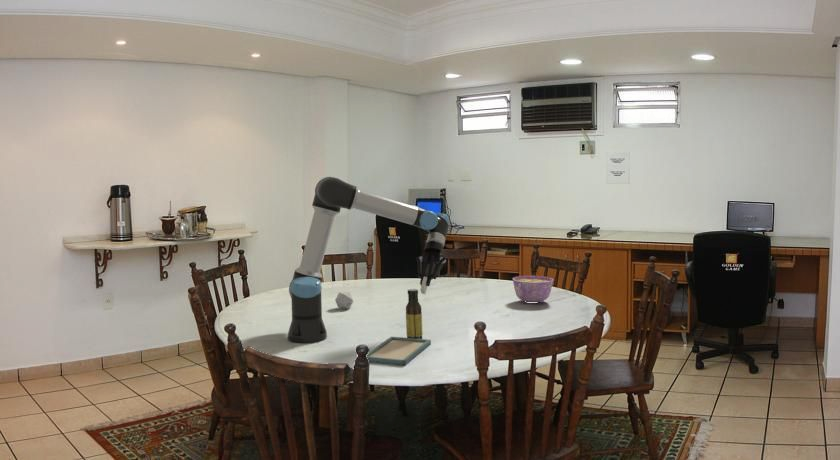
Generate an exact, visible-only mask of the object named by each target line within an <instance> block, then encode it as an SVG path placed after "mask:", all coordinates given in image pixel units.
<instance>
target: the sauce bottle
mask: <svg viewBox="0 0 840 460" xmlns="http://www.w3.org/2000/svg"><path fill="white" fill-rule="evenodd" d="M418 294H419V289H417V288H411V289H407V297H408V299H407V301H408V302H407V304H406V306H405V323H406V324H405V326H406V329H405V330H406V338H415V339H423V335H424V334H423V314H422V305H421V304H420V302H419V295H418Z"/></svg>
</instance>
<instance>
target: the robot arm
mask: <svg viewBox="0 0 840 460" xmlns="http://www.w3.org/2000/svg"><path fill="white" fill-rule="evenodd" d="M311 206H312V208H313V211H314V213H313V215H312V219H311V223H310V227H309V230H308V235H307V238H306V242H305V246H304V249H303V253H302V257H301V261H300V264H299V267H297V268H295V269H294V272H293V277H292V280H291V281H290V283H289V287H288V292H289V296H290V299H291V322H290V326H289V328H288V332H287V340H288V341H290V342H292V343H300V344H303V343H305V344H306V343H307V344H308V343H317V342H320V341H324V340H326V339H327V337H328V336H327V335H328V334H327V333H328V332H327V329H326V327H325V322H324V320H323V315H322V314H323V311H322V309H323V308H322V305H323V304H322V302H323V301H322V279H323V274H322V273H321V270H322V265H323V262H324V258H325V254H326V250H327V247H328V243H329V240H330V239H329V238H330V236H331V232H332V229H333V228H332V227H333V224H334V221H335V218H336V216H338V214H340V212H341V209H346V210H352V209H355V210H359V211H363V212H366V213H370V214H373V215H376V216H380V217H383V218H387V219H390V220H394V221H398V222H400V223H404V224H407V225H410V226H413V227H416V228H420V229H423V230H424V231H426V232H428V235H427V239H426V241H425V242H426V243H425V246H424V250H423V253H422V254H421V255H420V256H419V255H418V256H416V257H415V259H416V261H417V265H416V266H417V277H418V279H420V282H419V284H420V289H419V290H420V293H421V294H422V295H426V293H427V289H428V287H430V286H431V283H432V281H433V280H436V279H437V277H438V276H439V274H440V272H441V270H442V269H443V267H444V265H446V263H447V260H446V258H445V257H443V256H442V254H443V251H444V247H445V243H446V239H447V235H448V230H449V227H450V218H449V216H448V215H447V214H445V213H441V212H438V213H437V212H436V213H435V212H434V211H431V210H427V209H424V208H421V207H419V206H417V205H415V204H411V205H410V204H407V203H404V202H402V201H397V200H396V199H395V200H393V199H392V198H391V199H390V198H388V197H384V196H381V195H377V194H373V193H371V192H367V191H364V190H361V189H359V187H358V186H357V185H353V184H351V183H348V182H346V181H344V180H342V179H340V178H337V177H335V176H326V177H322V178H321V179H320V180H319V181H318V182H317V184H316V185H315V188H314V196H313V201H312V204H311ZM422 262H424V264H422ZM422 265H423V266H422Z"/></svg>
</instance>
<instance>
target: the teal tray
mask: <svg viewBox="0 0 840 460" xmlns="http://www.w3.org/2000/svg"><path fill="white" fill-rule="evenodd" d="M431 341H432V340H431V339H425V338H422V339H415V338H407V337H403V336H402V337H400V336H389V338H387V339H386V340H384V341H383V342H381V343H379V344H378V345H376V346H375V347H374V348H372V349H370V350H369V351H368V352H369V354H368V355H367V358H368V360H369V362H368V363H372V364H379V365H380V364H381V365H391V366H392V365H393V366H401V367H402V366H403V367H405V366H407V365H408V364H409V363H410V362H412V361H413V360H414V359H415V358H416V357H418V356H419V355H420V354H421V353H422V352H424V351H425V350H426V349H427V348H428V347H429V346H430V345H431V344H432V342H431Z"/></svg>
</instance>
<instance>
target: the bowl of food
mask: <svg viewBox="0 0 840 460" xmlns="http://www.w3.org/2000/svg"><path fill="white" fill-rule="evenodd" d="M512 283H513V288H514V291H515V295H516V297H517V298H518V299H520V300H521V301H523V302H524V301H526V302H541V303H542V302H545V301H546V300H547V299H548V298H549V297H550V294H551V291H552V287H553V283H554V278H552V277H549V276H541V275H518V276H514V277H512Z"/></svg>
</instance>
